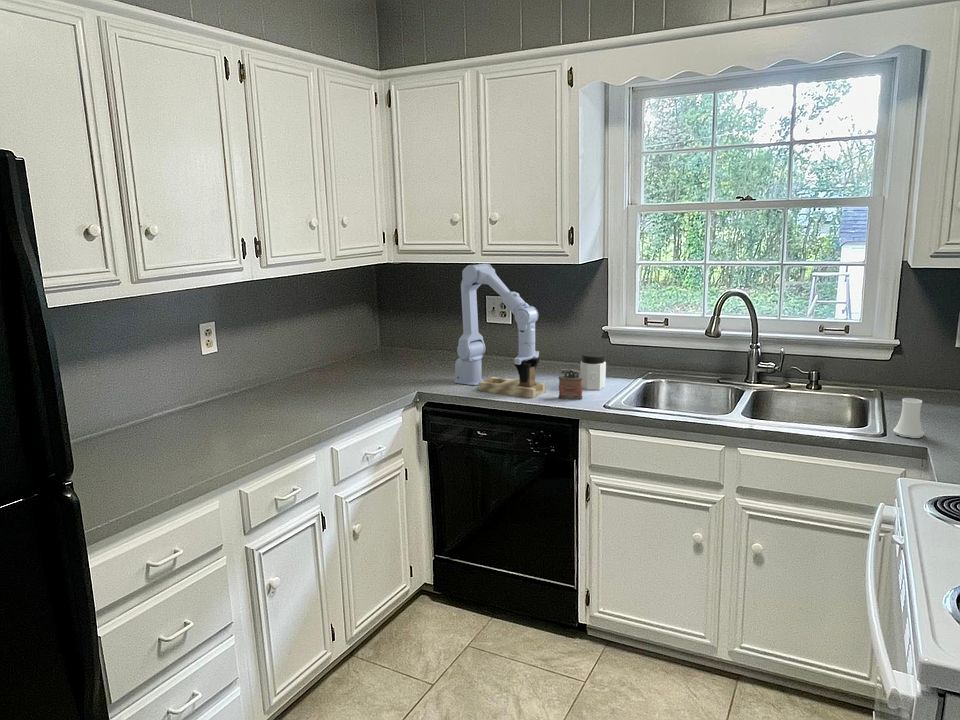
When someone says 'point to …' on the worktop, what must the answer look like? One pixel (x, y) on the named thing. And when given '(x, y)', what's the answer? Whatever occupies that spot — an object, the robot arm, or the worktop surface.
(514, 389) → the wooden tray with recesses
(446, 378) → the worktop surface
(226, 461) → the worktop surface
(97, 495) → the worktop surface
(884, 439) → the worktop surface
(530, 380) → the peg
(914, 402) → the white flared vase
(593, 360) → the jar
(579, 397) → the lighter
